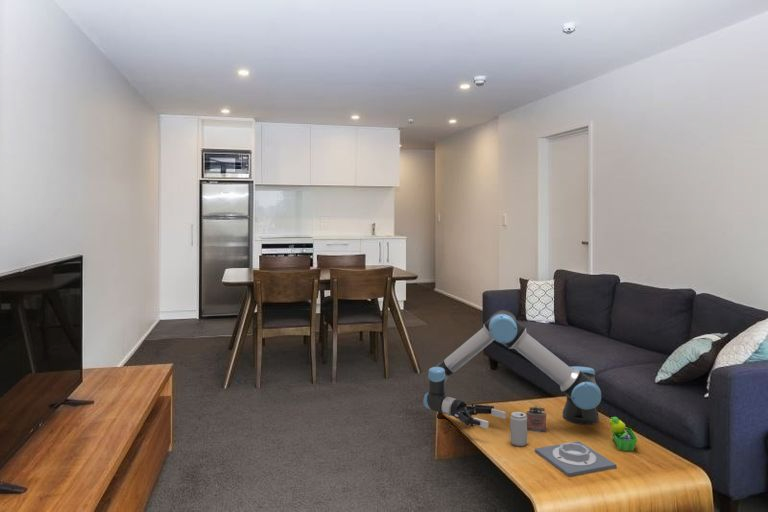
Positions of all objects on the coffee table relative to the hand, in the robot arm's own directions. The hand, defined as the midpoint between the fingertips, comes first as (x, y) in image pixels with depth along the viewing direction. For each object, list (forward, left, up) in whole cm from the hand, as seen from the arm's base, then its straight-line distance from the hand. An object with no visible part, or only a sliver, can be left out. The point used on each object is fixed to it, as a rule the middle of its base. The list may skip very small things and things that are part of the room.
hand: (496, 420), depth 199 cm
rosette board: (-17, +26, -7) cm, 32 cm away
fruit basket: (-42, +22, -7) cm, 48 cm away
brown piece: (-19, -1, -7) cm, 20 cm away
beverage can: (-5, +8, -7) cm, 12 cm away
